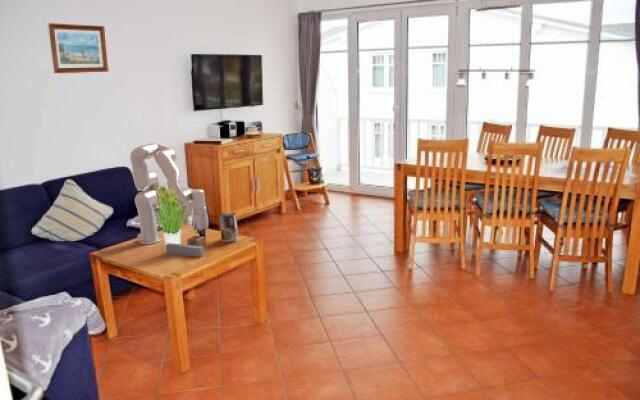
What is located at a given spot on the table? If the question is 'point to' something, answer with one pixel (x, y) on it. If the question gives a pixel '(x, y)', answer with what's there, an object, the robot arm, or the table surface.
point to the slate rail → (185, 250)
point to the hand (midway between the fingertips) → (202, 239)
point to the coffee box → (228, 227)
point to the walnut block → (197, 241)
